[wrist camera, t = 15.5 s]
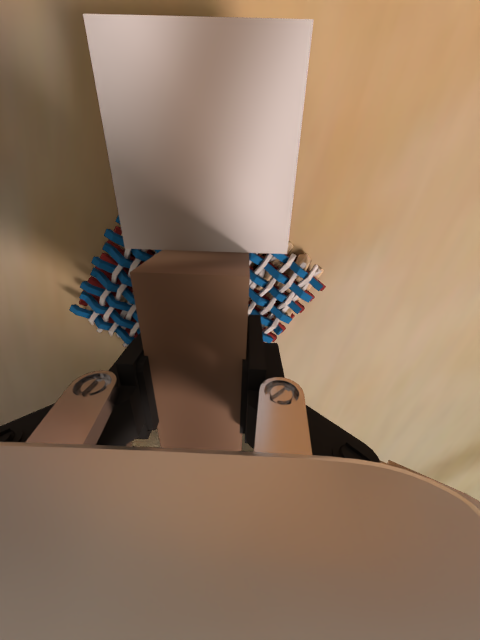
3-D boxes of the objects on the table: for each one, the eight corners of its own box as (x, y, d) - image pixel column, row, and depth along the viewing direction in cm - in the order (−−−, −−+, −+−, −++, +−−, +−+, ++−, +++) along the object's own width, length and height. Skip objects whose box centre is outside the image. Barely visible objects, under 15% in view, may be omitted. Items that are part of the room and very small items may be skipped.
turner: (308, 32, 7) (358, -98, 4) (266, 415, 14) (272, 480, 11) (95, 27, 7) (-26, -105, 4) (158, 411, 14) (133, 474, 11)
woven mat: (225, 385, 18) (222, 407, 16) (83, 304, 15) (61, 319, 14) (330, 272, 14) (343, 283, 12) (164, 136, 11) (149, 125, 10)
